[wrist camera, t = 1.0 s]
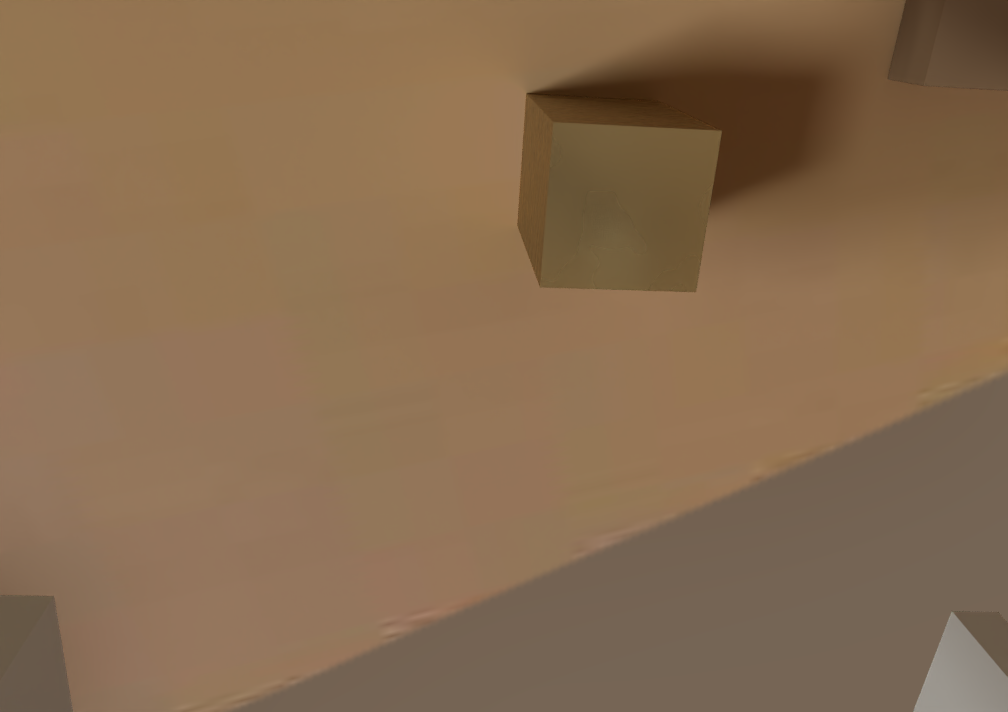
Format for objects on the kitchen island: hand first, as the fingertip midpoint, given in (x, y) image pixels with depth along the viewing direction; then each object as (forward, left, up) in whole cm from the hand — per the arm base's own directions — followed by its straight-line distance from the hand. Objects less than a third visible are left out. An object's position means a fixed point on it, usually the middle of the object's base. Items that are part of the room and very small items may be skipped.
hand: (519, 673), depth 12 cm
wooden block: (-5, +3, -16) cm, 17 cm away
